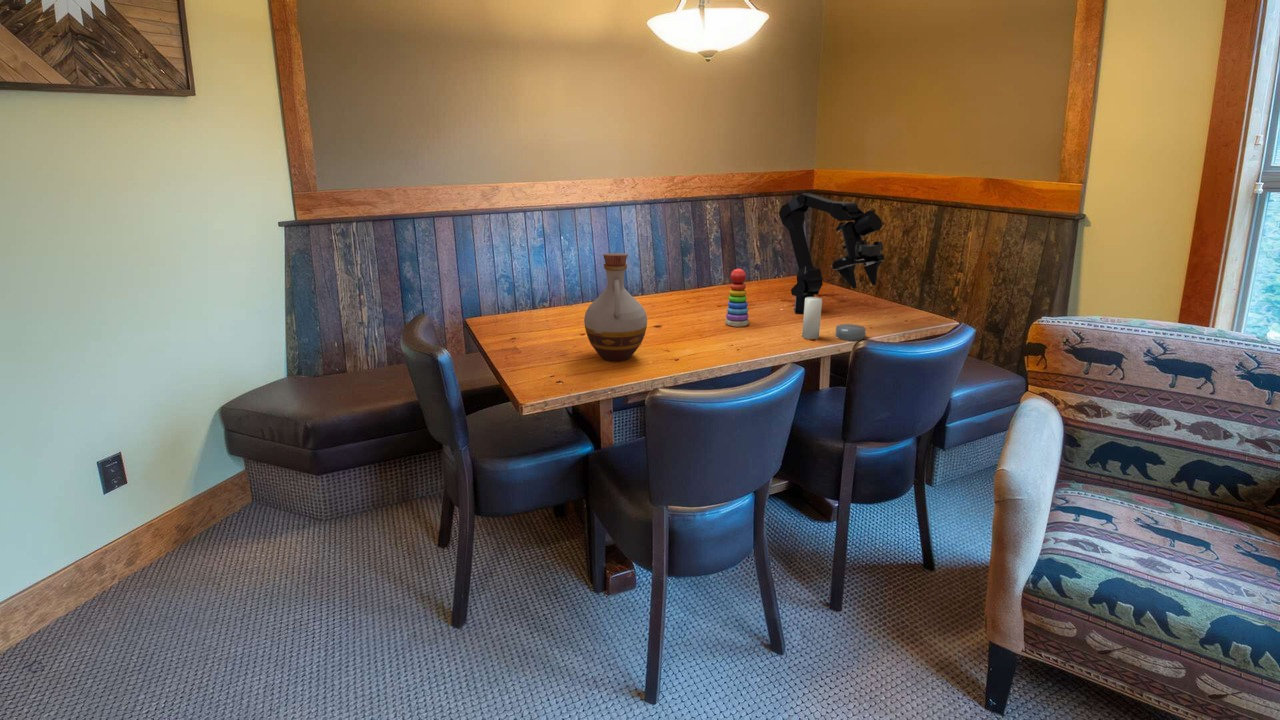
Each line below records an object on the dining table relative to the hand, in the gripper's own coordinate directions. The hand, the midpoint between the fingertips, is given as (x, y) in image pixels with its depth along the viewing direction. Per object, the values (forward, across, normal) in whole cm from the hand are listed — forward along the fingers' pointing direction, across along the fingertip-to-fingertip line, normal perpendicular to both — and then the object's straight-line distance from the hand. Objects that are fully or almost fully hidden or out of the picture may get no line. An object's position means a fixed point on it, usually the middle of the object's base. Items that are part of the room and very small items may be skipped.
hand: (864, 286), depth 234 cm
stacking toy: (+2, -31, +29) cm, 43 cm away
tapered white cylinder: (+12, -22, +7) cm, 26 cm away
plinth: (+15, -11, +1) cm, 18 cm away
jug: (+7, -85, +19) cm, 87 cm away
